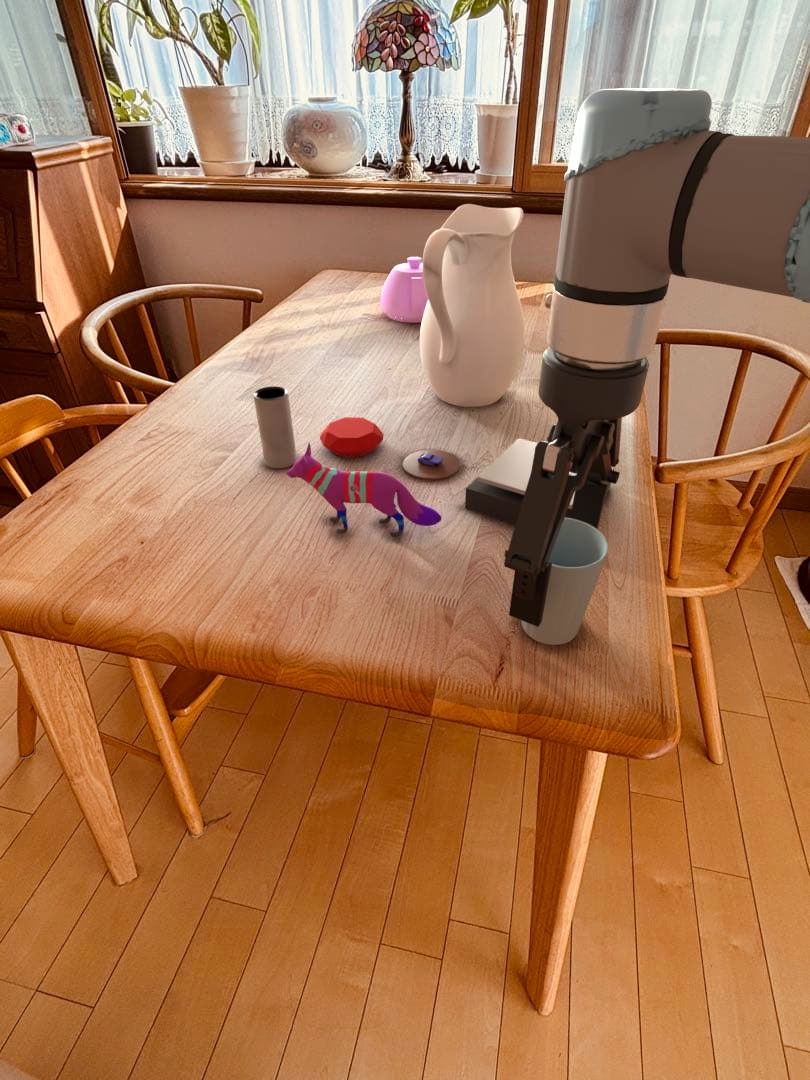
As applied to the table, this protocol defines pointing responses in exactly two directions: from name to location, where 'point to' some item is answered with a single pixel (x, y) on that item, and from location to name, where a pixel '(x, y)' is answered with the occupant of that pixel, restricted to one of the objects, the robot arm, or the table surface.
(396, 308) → the teapot
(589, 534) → the cup
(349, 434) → the gemstone
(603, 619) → the table surface
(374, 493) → the fox figurine
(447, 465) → the round wooden coaster
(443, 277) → the pitcher
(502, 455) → the scale
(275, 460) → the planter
